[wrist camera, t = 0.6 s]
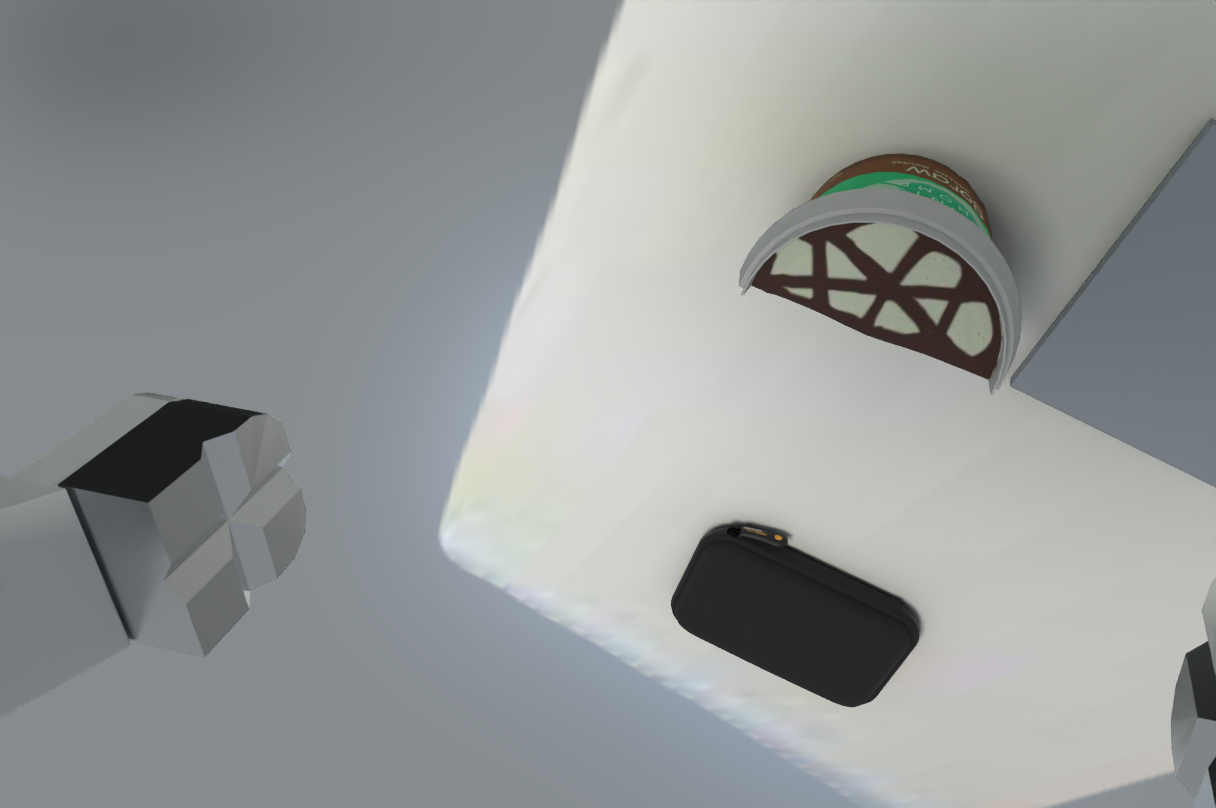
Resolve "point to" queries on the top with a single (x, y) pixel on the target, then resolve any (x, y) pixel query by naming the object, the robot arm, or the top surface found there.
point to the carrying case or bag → (793, 615)
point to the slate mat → (1146, 327)
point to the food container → (898, 263)
